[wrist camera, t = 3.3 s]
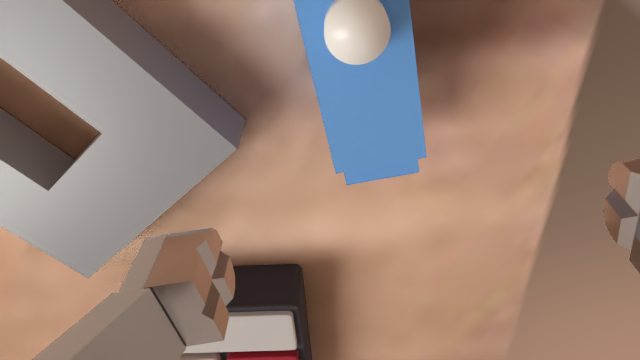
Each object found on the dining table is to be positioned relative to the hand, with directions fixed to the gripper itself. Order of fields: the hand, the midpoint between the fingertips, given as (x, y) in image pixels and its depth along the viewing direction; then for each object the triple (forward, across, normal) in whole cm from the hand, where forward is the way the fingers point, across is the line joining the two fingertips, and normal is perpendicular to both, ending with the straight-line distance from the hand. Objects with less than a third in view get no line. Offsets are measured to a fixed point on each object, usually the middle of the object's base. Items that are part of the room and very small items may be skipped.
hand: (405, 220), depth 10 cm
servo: (+14, 0, 0) cm, 14 cm away
